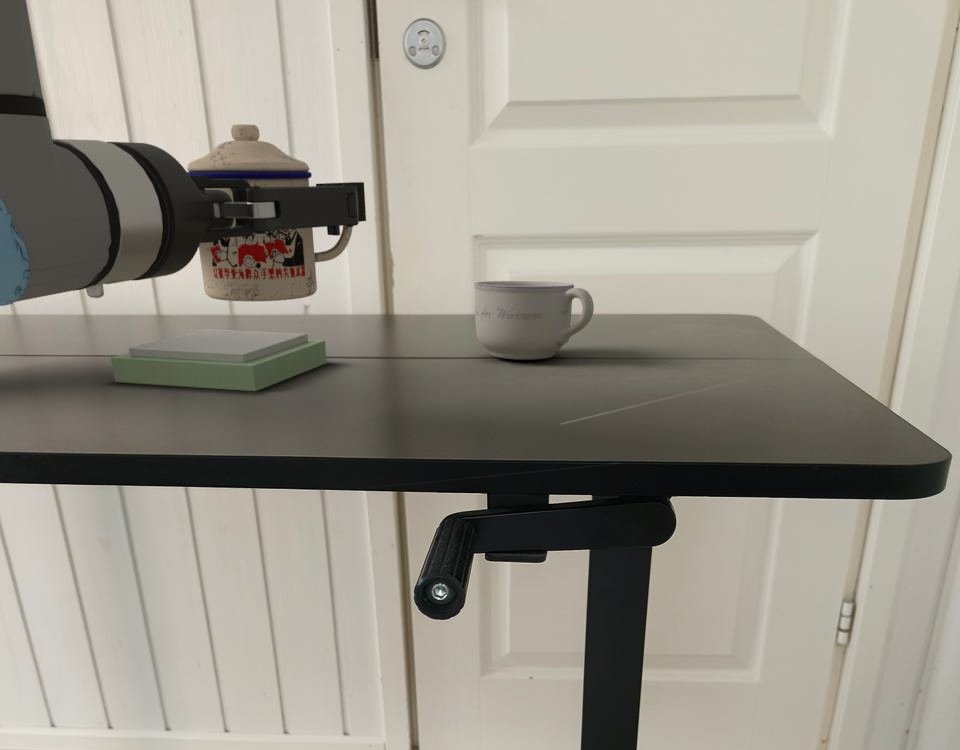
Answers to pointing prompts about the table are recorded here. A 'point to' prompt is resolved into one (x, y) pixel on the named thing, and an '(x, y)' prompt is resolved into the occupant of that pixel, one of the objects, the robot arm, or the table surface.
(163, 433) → the table surface
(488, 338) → the teacup
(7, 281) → the robot arm
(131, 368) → the scale
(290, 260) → the teacup with lid
